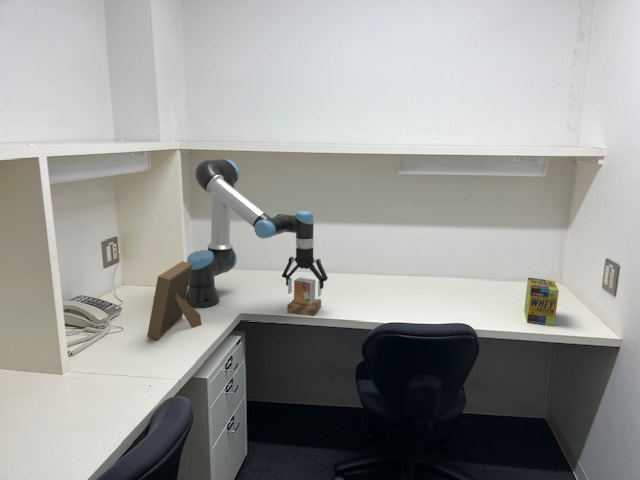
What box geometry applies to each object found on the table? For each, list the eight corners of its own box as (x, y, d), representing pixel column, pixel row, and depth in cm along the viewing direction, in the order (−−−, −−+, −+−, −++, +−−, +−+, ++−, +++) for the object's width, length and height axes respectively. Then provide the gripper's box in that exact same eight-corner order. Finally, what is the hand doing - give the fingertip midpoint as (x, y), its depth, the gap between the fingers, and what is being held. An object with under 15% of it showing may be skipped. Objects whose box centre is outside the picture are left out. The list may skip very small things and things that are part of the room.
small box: (293, 303, 199) (293, 280, 197) (299, 299, 204) (299, 276, 202) (310, 305, 196) (310, 282, 194) (315, 301, 201) (315, 279, 199)
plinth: (287, 314, 197) (287, 305, 196) (295, 305, 208) (295, 296, 207) (314, 317, 194) (314, 308, 193) (321, 307, 205) (321, 299, 204)
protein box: (526, 323, 188) (530, 287, 185) (523, 310, 202) (527, 277, 199) (554, 326, 185) (559, 290, 181) (549, 313, 199) (554, 279, 195)
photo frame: (147, 339, 169) (143, 275, 164) (172, 317, 190) (169, 260, 185) (185, 342, 168) (182, 277, 162) (206, 320, 189) (204, 262, 183)
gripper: (274, 247, 194) (274, 294, 199) (330, 251, 188) (330, 299, 193) (280, 243, 201) (280, 289, 206) (334, 247, 195) (334, 294, 200)
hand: (304, 294), depth 199 cm, fingers open, 13 cm apart
